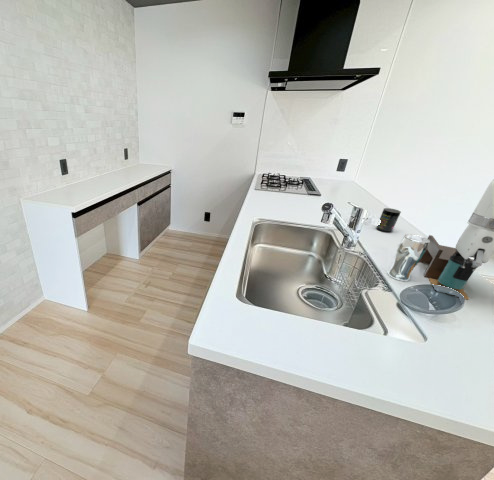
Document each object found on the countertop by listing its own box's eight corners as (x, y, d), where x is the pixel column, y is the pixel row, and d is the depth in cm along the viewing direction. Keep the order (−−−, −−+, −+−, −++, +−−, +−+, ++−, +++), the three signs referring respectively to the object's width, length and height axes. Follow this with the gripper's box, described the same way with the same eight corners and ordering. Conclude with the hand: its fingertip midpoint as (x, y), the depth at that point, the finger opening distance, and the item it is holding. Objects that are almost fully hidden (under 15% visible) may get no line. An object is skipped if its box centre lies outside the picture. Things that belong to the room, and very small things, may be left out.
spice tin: (459, 282, 85) (474, 258, 81) (466, 292, 80) (482, 267, 76) (435, 276, 88) (448, 253, 84) (439, 285, 83) (454, 261, 79)
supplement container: (390, 234, 125) (399, 213, 120) (374, 229, 129) (382, 209, 124) (393, 230, 129) (402, 210, 124) (377, 226, 133) (385, 207, 129)
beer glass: (410, 284, 87) (430, 245, 80) (384, 276, 91) (402, 238, 84) (411, 276, 91) (431, 238, 85) (387, 268, 95) (404, 231, 89)
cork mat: (459, 286, 86) (460, 285, 86) (468, 299, 80) (469, 298, 80) (428, 279, 90) (429, 277, 90) (434, 291, 84) (435, 289, 84)
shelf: (450, 267, 97) (465, 241, 93) (462, 286, 87) (480, 258, 82) (416, 260, 102) (429, 235, 97) (424, 276, 91) (439, 249, 86)
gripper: (522, 235, 66) (483, 292, 74) (493, 216, 79) (462, 265, 87) (482, 228, 70) (448, 283, 78) (460, 211, 83) (433, 259, 91)
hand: (456, 273), depth 82 cm, fingers closed on spice tin, 6 cm apart
